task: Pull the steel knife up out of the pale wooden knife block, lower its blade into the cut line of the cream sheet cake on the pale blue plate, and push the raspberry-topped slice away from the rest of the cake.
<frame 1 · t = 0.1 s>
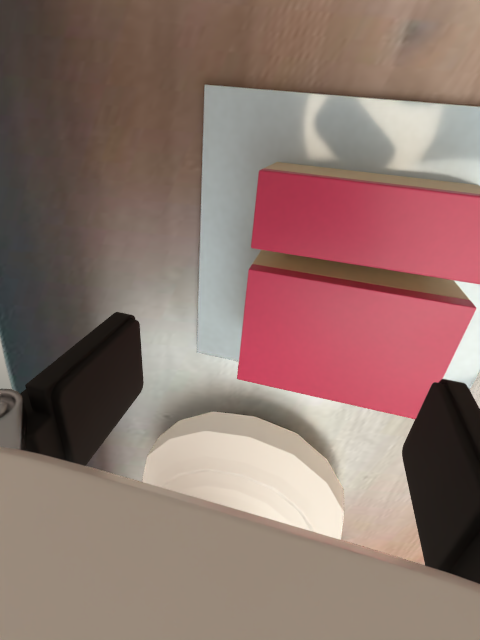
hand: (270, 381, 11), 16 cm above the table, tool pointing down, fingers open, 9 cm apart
cake: (339, 324, 23), on the cake plate, point 4 cm above the table
cake plate: (347, 263, 25), on the table
candle holder: (248, 462, 38), on the table
cake slice: (364, 206, 22), point 1 cm above the table, touching cake plate
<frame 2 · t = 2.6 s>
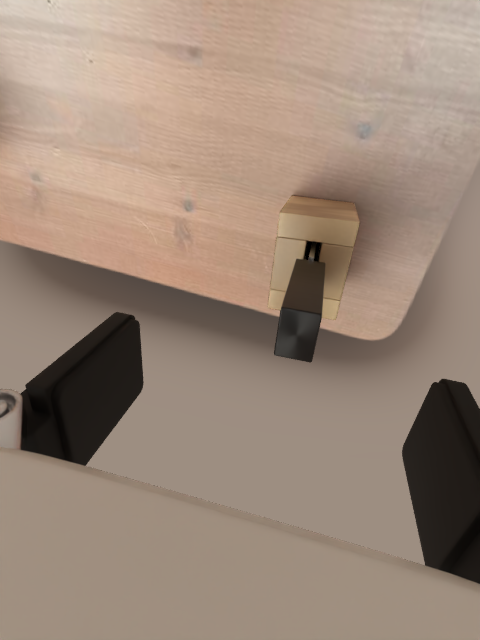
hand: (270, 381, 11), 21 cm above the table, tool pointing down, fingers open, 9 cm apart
knife: (308, 274, 22), in the knife block
knife block: (314, 241, 29), on the table
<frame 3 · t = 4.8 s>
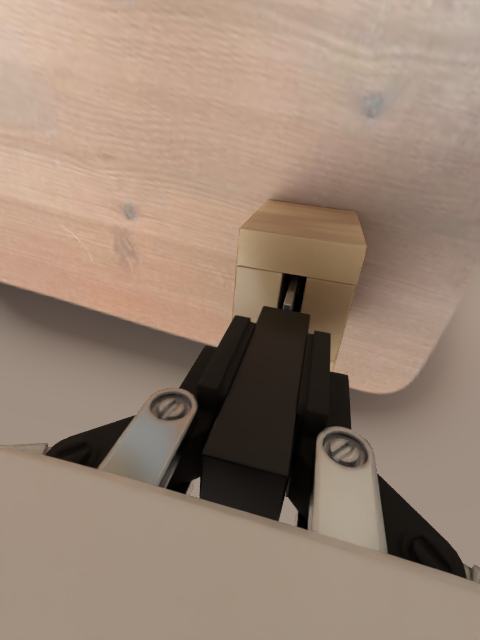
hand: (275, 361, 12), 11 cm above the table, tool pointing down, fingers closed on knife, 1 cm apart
knife: (284, 326, 14), in the knife block, touching gripper
knife block: (300, 264, 21), on the table
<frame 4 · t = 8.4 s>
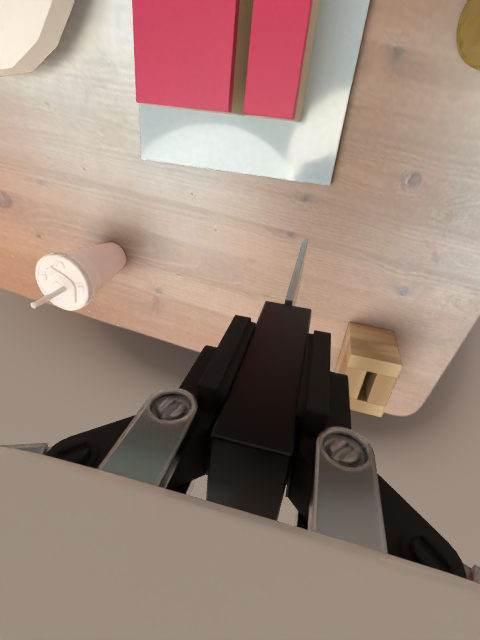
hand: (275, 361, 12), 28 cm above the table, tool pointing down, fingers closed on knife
knife: (286, 321, 15), point 24 cm above the table, touching gripper
cake: (196, 22, 27), on the cake plate, point 4 cm above the table
smoothie: (113, 255, 44), on the table
cake plate: (244, 37, 30), on the table
knife block: (362, 351, 42), on the table
cake slice: (290, 37, 29), point 1 cm above the table, touching cake plate
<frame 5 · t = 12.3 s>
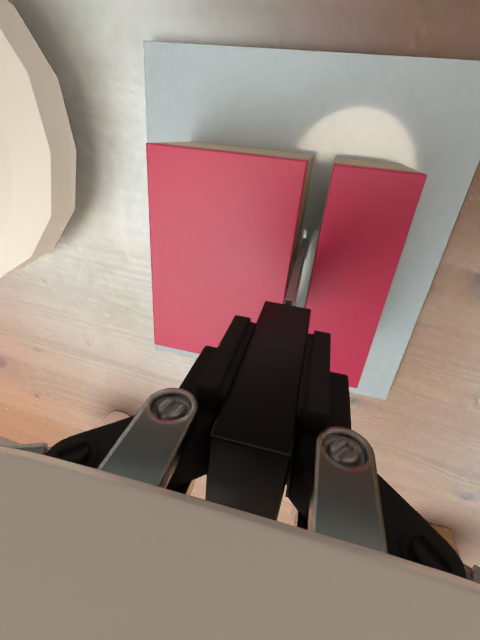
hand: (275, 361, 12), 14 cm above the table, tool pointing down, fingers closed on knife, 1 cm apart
knife: (286, 321, 15), point 11 cm above the table, touching gripper
cake: (230, 254, 22), on the cake plate, point 4 cm above the table
cake plate: (285, 244, 25), on the table
cake slice: (344, 258, 23), point 1 cm above the table, touching cake plate
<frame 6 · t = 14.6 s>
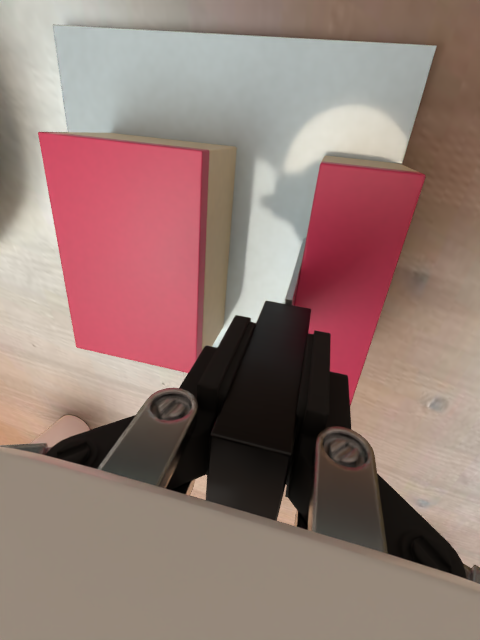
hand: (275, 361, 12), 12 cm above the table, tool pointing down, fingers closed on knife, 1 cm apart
knife: (286, 321, 15), point 9 cm above the table, touching cake slice, gripper
cake: (152, 252, 21), on the cake plate, point 4 cm above the table
smoothie: (76, 426, 37), on the table
cake plate: (219, 242, 24), on the table
cake slice: (336, 264, 21), point 1 cm above the table, touching cake plate, knife
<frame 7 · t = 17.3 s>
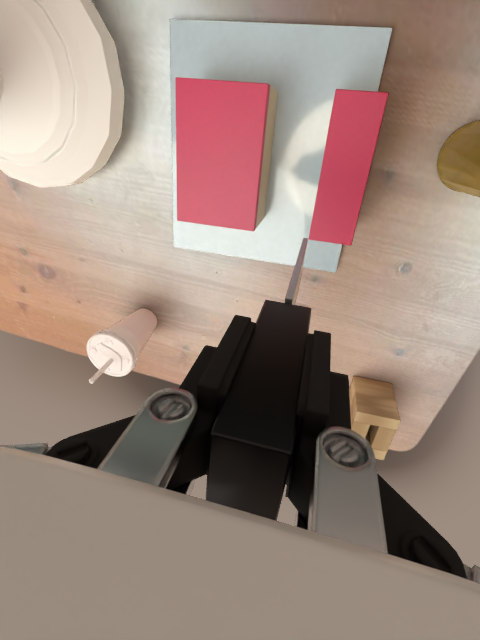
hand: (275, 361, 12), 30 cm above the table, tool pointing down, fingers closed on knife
knife: (286, 320, 15), point 27 cm above the table, touching gripper
cake: (226, 158, 34), on the cake plate, point 4 cm above the table
smoothie: (146, 318, 51), on the table
cake plate: (263, 158, 37), on the table
knife block: (365, 398, 48), on the table
candle holder: (57, 86, 38), on the table
vase: (472, 157, 33), on the table
cake slice: (342, 168, 34), point 1 cm above the table, touching cake plate
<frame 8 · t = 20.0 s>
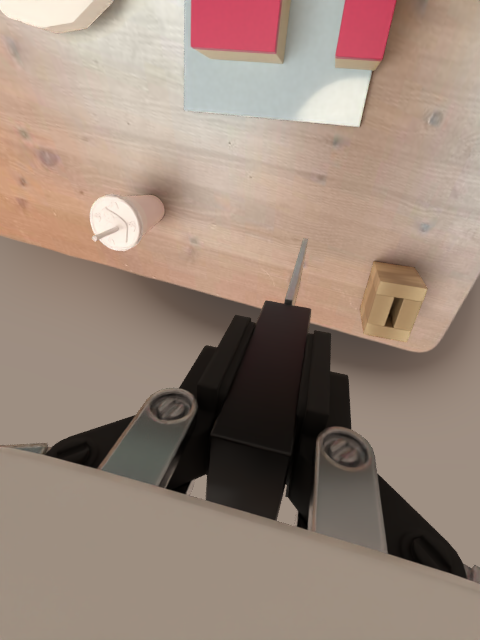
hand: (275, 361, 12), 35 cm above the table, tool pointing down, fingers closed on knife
knife: (286, 321, 15), point 32 cm above the table, touching gripper
smoothie: (152, 208, 48), on the table
knife block: (385, 289, 45), on the table
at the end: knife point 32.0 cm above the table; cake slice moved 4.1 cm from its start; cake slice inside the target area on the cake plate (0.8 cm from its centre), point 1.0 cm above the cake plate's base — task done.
